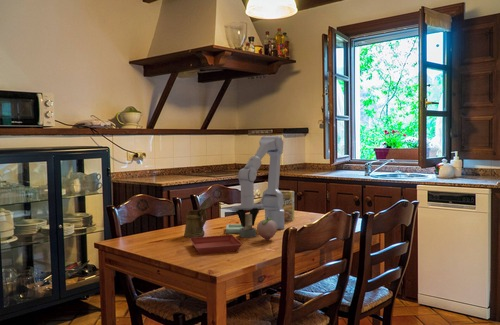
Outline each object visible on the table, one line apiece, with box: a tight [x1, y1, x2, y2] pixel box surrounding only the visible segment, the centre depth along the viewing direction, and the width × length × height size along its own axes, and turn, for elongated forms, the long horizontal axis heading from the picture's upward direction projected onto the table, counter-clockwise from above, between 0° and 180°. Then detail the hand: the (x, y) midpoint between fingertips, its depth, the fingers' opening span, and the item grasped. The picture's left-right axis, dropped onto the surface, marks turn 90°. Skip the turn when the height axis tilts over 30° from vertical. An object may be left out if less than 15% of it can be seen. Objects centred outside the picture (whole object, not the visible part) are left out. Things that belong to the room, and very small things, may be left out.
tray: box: [225, 223, 243, 235], centre depth 213 cm, size 11×12×2 cm
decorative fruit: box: [256, 217, 278, 241], centre depth 193 cm, size 9×8×10 cm
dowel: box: [243, 213, 253, 230], centre depth 202 cm, size 4×4×9 cm
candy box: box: [279, 190, 295, 222], centre depth 240 cm, size 9×4×15 cm, turn 70°
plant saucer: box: [189, 234, 243, 255], centre depth 181 cm, size 18×18×3 cm
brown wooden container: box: [183, 196, 212, 238], centre depth 202 cm, size 9×14×18 cm, turn 61°
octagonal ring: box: [239, 227, 257, 239], centre depth 202 cm, size 7×7×3 cm
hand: (247, 225), depth 202 cm, fingers closed on dowel, 4 cm apart
